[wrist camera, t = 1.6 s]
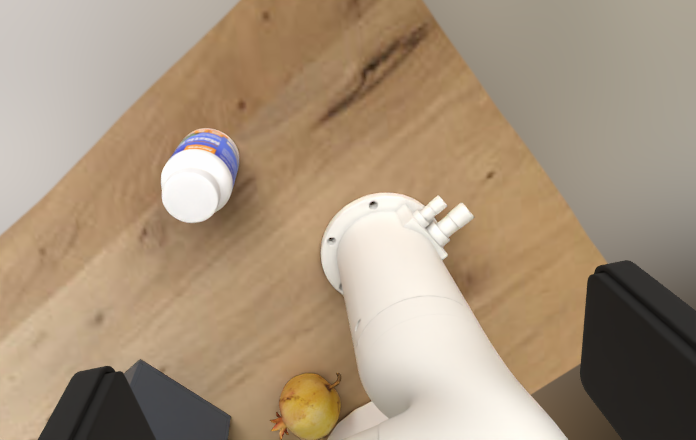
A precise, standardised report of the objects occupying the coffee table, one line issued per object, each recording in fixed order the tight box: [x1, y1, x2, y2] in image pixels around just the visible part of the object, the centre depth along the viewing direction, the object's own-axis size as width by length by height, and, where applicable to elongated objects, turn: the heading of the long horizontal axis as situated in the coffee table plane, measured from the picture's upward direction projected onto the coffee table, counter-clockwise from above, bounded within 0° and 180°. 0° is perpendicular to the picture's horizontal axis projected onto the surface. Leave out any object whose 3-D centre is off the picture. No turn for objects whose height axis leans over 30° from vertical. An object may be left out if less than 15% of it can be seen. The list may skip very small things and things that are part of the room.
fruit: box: [270, 373, 341, 440], centre depth 53 cm, size 7×7×10 cm
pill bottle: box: [161, 129, 239, 223], centre depth 39 cm, size 6×5×10 cm
